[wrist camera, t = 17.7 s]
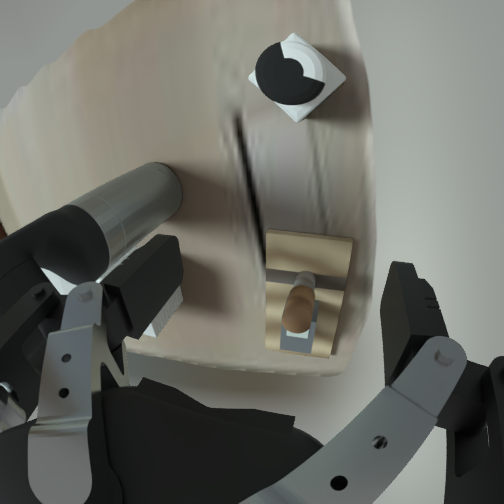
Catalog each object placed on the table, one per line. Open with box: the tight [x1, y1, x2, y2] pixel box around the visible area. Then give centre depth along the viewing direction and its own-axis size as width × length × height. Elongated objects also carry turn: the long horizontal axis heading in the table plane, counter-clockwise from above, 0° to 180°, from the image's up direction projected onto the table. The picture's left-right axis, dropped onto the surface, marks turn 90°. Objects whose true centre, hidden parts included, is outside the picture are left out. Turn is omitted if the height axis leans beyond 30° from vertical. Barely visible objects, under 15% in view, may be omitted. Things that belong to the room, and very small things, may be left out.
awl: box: [282, 271, 316, 334], centre depth 39 cm, size 4×4×10 cm
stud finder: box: [280, 297, 320, 354], centre depth 44 cm, size 7×5×5 cm
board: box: [266, 229, 353, 359], centre depth 46 cm, size 24×12×1 cm, turn 2°
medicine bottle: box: [249, 33, 346, 122], centre depth 25 cm, size 7×7×12 cm
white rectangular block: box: [41, 247, 183, 338], centre depth 51 cm, size 32×11×11 cm, turn 93°
